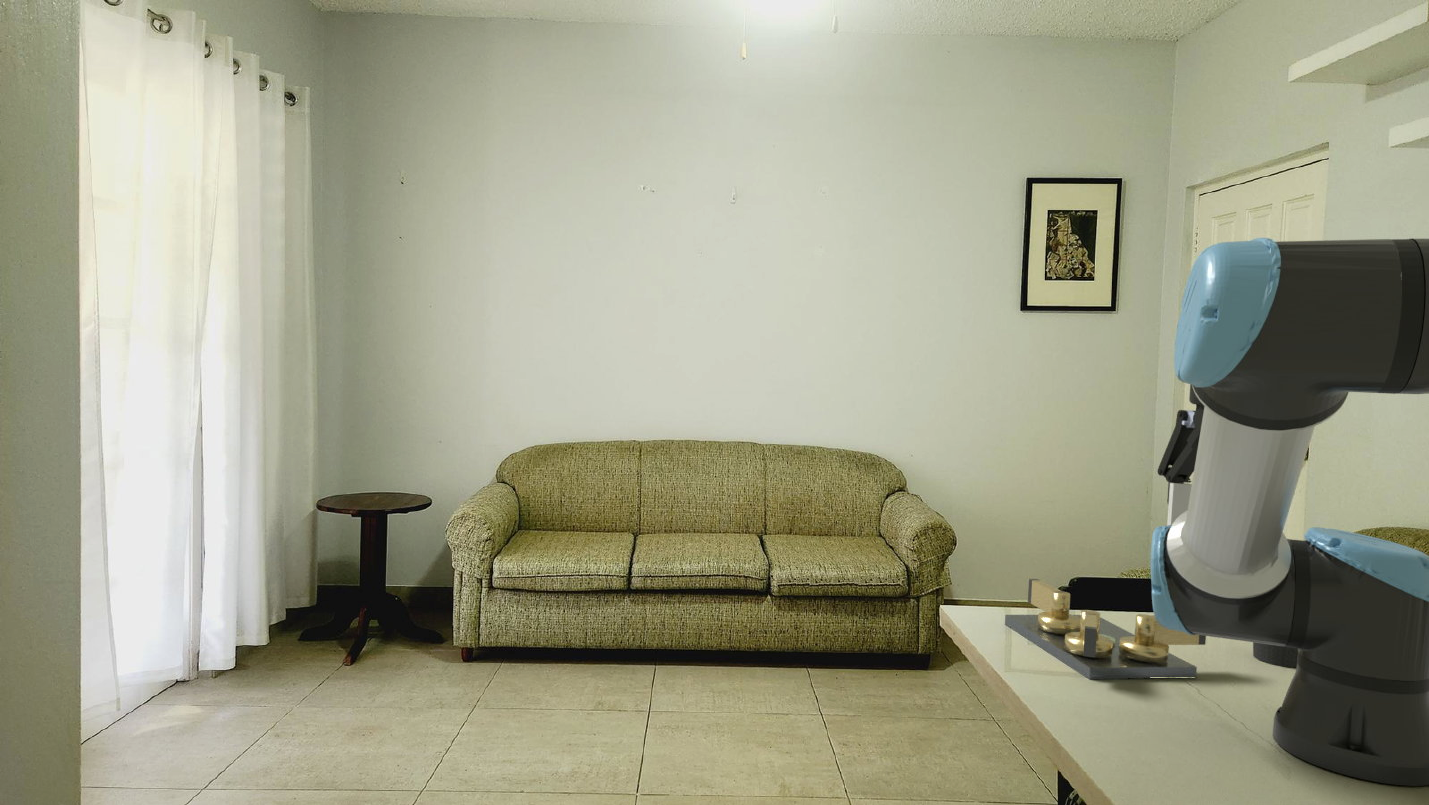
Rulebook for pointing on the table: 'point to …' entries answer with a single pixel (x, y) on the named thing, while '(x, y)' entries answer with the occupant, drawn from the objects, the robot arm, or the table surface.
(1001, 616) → the table surface
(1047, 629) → the brass knob
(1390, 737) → the robot arm
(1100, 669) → the levelling plate
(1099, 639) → the brass knob
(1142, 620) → the brass knob
